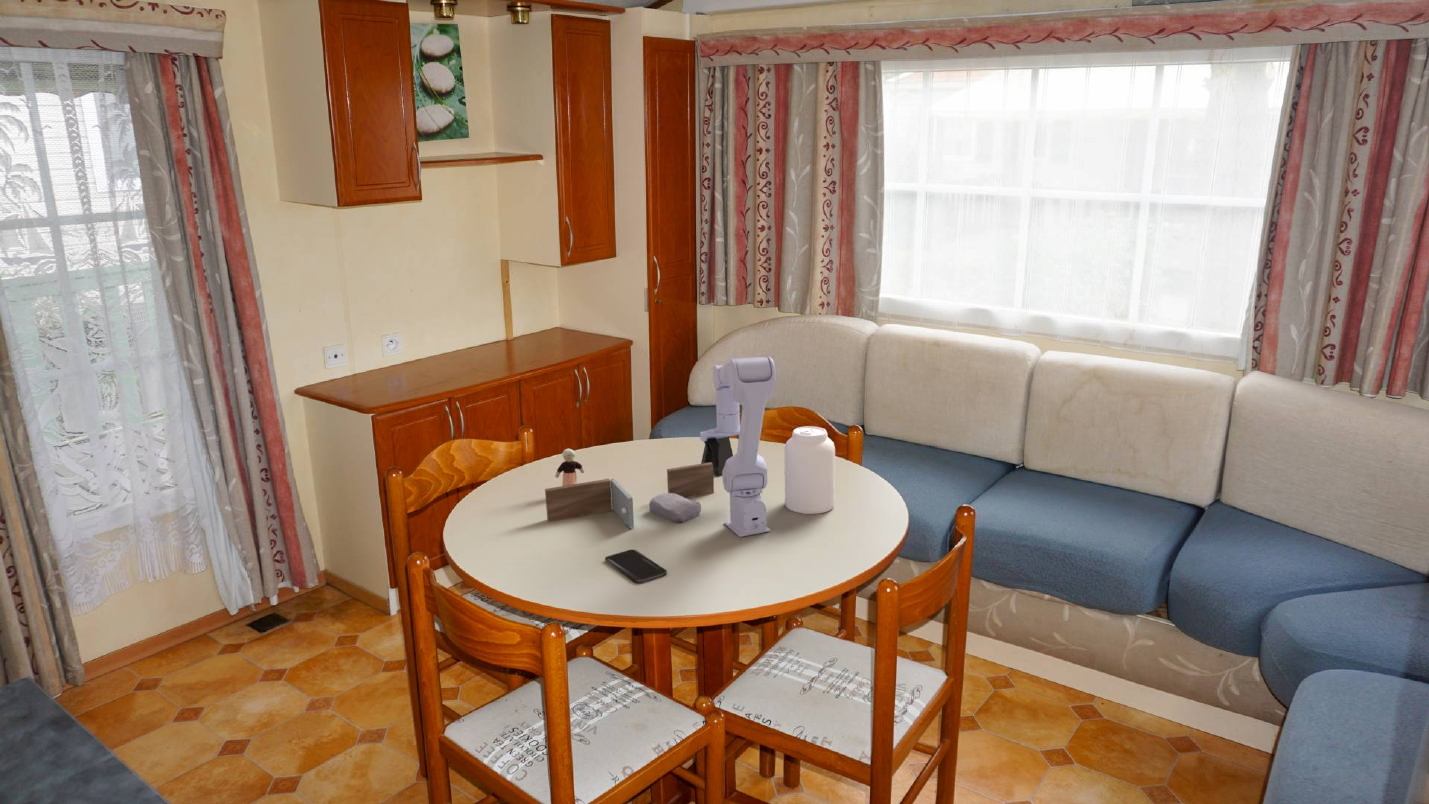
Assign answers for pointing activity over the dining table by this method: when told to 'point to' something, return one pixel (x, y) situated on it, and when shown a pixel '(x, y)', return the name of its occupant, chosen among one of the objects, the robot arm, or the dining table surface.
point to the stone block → (674, 507)
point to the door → (622, 503)
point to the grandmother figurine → (569, 468)
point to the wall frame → (598, 493)
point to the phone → (635, 566)
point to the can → (809, 471)
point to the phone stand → (719, 455)
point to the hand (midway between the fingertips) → (729, 463)
